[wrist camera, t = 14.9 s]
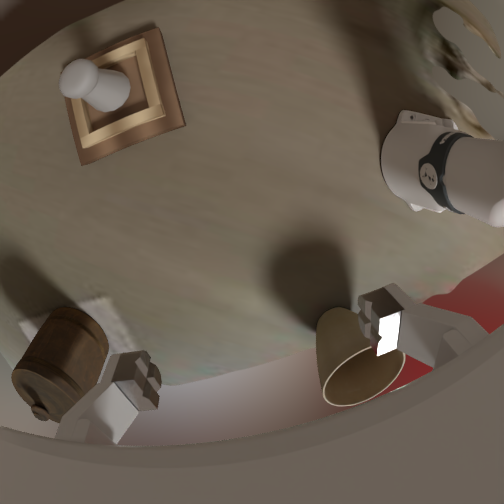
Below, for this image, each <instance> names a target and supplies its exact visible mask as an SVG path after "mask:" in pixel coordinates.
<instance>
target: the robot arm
mask: <svg viewBox="0 0 504 504" xmlns="http://www.w3.org/2000/svg"><path fill="white" fill-rule="evenodd" d="M410 116H411V118H410ZM381 167H382V172H383V176H384V179H385V181H386V183H387V185H388V187H389V188H390V190H391V191H392V192H393V193H394V194H395V195H396V196H398V197H400V198H401V199H403V200H405V201H406V202H407V204H408V206H409V207H410V208H411V209H412V210H413V211H420V210H421V209H423V208H426V209H429V210H432V211H435V212H439V213H441V212H442V211H444V210H446V209H447V210H448V211H451V212H454V213H458V214H467V215H470V216H472V217H474V218H476V219H478V220H481V221H483V222H485V223H487V224H489V225H491V226H493V227H503V226H504V140H490V139H480V138H474V137H472V136H471V135H468V134H467V133H466V132H462V131H459V130H458V128H457V126H456V124H455V123H454V122H453V120H451V119H442V118H438V117H434V116H430V115H426V114H422V113H417V112H413V111H408V110H402V111H401V112H400V114H399V116H398V120H397V123H396V125H395V126H394V127H393V129H392V130H391V131H390V132H389V133H388V135H387V137H386V139H385V141H384V144H383V147H382V153H381ZM358 306H359V307H360V309H361V310H360V312H359V314H358V322H359V326H360V329H361V331H362V333H363V335H364V336H365V337H366V338H369V339H370V346H371V347H372V349H373V350H374V352H375V353H376V355H377V356H379V355H381V354H384V353H387V352H389V351H392V350H394V349H397V350H399V351H401V352H403V353H405V354H407V355H409V356H411V357H413V358H415V359H417V360H419V361H421V362H423V363H425V364H427V365H429V366H431V367H433V371H432V372H430V373H428V374H426V375H424V376H422V377H420V378H418V379H416V380H415V381H413V382H411V383H409V384H407V385H404V386H402V387H400V388H398V389H396V390H394V391H392V392H389V393H387V394H385V395H383V396H380V397H378V398H376V399H373V400H371V401H368V402H366V403H363V404H361V405H358V406H356V407H353V408H350V409H348V410H345V411H342V412H339V413H336V414H334V415H331V416H327V417H324V418H321V419H318V420H315V421H311V422H308V423H304V424H300V425H297V426H293V427H290V428H285V429H281V430H277V431H272V432H268V433H263V434H258V435H253V436H248V437H242V438H236V439H229V440H222V441H215V442H207V443H197V444H185V445H168V446H118V445H117V443H118V442H119V440H120V438H121V437H122V436H123V434H124V433H125V432H126V430H127V429H128V427H129V426H130V425H131V423H132V422H133V420H134V419H135V417H136V416H137V415H138V413H139V411H147V410H156V409H158V403H159V395H158V393H157V391H158V390H159V389H160V388H161V383H162V381H161V374H160V372H159V369H158V368H157V366H156V365H155V364H153V363H151V362H150V359H151V357H150V355H149V354H148V353H147V351H144V350H142V351H135V352H127V353H121V354H113V355H112V356H110V359H109V361H108V364H107V366H106V369H105V371H104V374H103V377H102V380H101V382H100V383H98V384H96V385H95V386H94V387H93V388H92V389H91V390H90V391H89V392H88V393H87V394H86V395H85V396H83V397H82V398H81V399H80V400H79V401H78V402H77V403H76V404H75V405H74V406H73V407H72V408H71V409H70V410H69V411H68V412H67V413H66V414H64V415H63V416H62V419H61V422H60V424H59V427H58V430H57V433H56V436H55V439H53V438H49V437H43V436H38V435H34V434H29V433H25V432H21V431H17V430H14V429H10V428H7V427H3V426H1V427H0V504H504V324H503V325H502V326H501V327H499V328H498V329H496V330H495V331H494V332H493V333H491V334H490V335H489V334H488V333H487V332H486V331H485V330H484V329H483V328H482V327H481V326H480V325H479V324H478V323H477V322H476V321H475V320H474V319H473V318H472V317H469V316H466V315H462V314H458V313H454V312H451V311H447V310H443V309H439V308H436V307H432V306H429V305H424V304H421V303H419V304H416V303H415V302H414V301H413V300H412V299H411V298H410V297H409V296H408V295H407V294H406V293H405V292H404V291H403V290H402V289H400V288H399V287H398V286H397V285H396V284H395V283H392V284H389V285H387V286H384V287H382V288H380V289H377V290H374V291H371V292H369V293H366V294H363V295H360V296H359V297H358Z"/></svg>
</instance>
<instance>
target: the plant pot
mask: <svg viewBox="0 0 504 504" xmlns="http://www.w3.org/2000/svg"><path fill="white" fill-rule="evenodd" d="M316 354H317V364H318V372H319V378H320V383H321V389H322V393H323V397H324V399H325V400H326V401H327V402H328V403H329V404H332V405H335V406H350V405H355V404H359V403H362V402H364V401H366V400H369V399H371V398H373V397H374V396H376V395H378V394H379V393H381V391H383V390H384V389H386V388H387V387H388V386H389V385H390V384H391V383H392V382H393V381H394V380H395V379H396V377H397V376H398V374H399V373H400V371H401V370H402V368H403V365H404V362H405V353H403V352H401V351H399V350H397V349H394V350H392V351H389V352H387V353H384V354H381V355H379V356H377V355H376V353H375V352H374V350H373V349H372V347H371V346H370V339H369V338H366V337H365V336H364V335H363V333H362V331H361V329H360V326H359V322H358V314H356V313H354V312H352V311H350V310H348V309H345V308H342V307H336V308H332V309H330V310H328V311H326V312H325V313H324V314H323V315H322V316H321V317H320V318H319V320H318V322H317V330H316Z"/></svg>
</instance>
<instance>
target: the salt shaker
mask: <svg viewBox="0 0 504 504" xmlns="http://www.w3.org/2000/svg"><path fill="white" fill-rule="evenodd" d="M59 88H60V91H61V92H62V93H63V95H64V96H66V97H68V98H73V99H78V98H82V99H83V100H85V101H86V102H87V103H89V104H90V105H91V106H92V107H94V108H95V109H96V110H99V111H102V112H109V111H114V110H116V109H118V108H119V107H121V106H122V105H123V104H124V103H125V101H126V100H127V98H128V97H129V93H130V89H131V87H130V82H129V79H128V78H127V77H126V76H125V75H124V74H123V73H122V72H118V71H115V70H107V69H99V68H98V67H97V66H96V65H95V64H94V63H93V62H92V61H91V60H86V59H78V60H75V61H72V62H71V63H70V64H69V65H67V66H66V67H65V69H64V70H63V72H62V74H61V76H60V80H59Z"/></svg>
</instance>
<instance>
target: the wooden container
mask: <svg viewBox="0 0 504 504" xmlns="http://www.w3.org/2000/svg"><path fill="white" fill-rule="evenodd" d="M108 350H109V344H108V340H107V337H106V335H105V333H104V332H103V330H102V329H101V327H100V326H99V325H98V324H97V323H96V322H95V321H94V320H93V319H92V318H91V317H89V316H88V315H86V314H85V313H83V312H81V311H79V310H77V309H74V308H69V307H62V308H58V309H56V310H54V311H53V312H52V313H51V314H50V316H49V317H48V318H47V320H46V321H45V323H44V324H43V325H42V327H41V328H40V329H39V331H38V332H37V334H36V336H35V337H34V339H33V340H32V342H31V344H30V345H29V347H28V349H27V350H26V352H25V354H24V355H23V357H22V359H21V360H20V361H19V362H18V364H17V365H16V367H15V369H14V370H13V372H12V377H11V378H12V383H13V385H14V387H15V389H16V391H17V392H18V394H19V395H20V396H21V397H22V399H23V400H24V401H25V402H27V404H28V405H29V406H31V410H32V412H33V414H34V416H35V417H36V418H38V419H39V420H41V421H47V420H48V419H51V420H52V421H55V422H57V423H60V422H61V419H62V416H63V415H64V414H66V413H67V412H68V411H69V410H70V409H71V408H72V407H73V406H74V405H75V404H76V403H77V402H78V401H79V400H80V399H81V398H82V397H83V396H85V395H86V394H87V393H88V392H89V391H90V390H91V389H92V388H93V387H94V386H95V385H96V384H97V381H98V378H99V376H100V373H101V370H102V367H103V364H104V362H105V359H106V357H107V354H108Z"/></svg>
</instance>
